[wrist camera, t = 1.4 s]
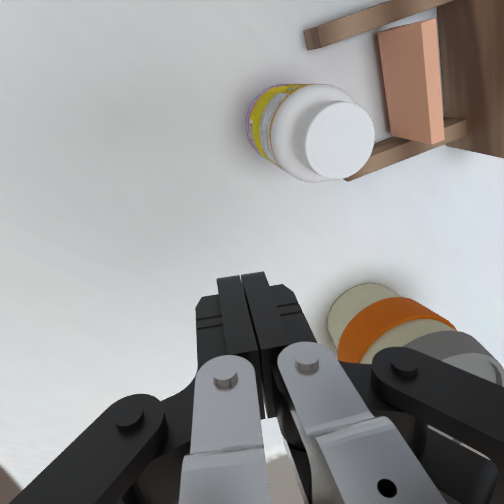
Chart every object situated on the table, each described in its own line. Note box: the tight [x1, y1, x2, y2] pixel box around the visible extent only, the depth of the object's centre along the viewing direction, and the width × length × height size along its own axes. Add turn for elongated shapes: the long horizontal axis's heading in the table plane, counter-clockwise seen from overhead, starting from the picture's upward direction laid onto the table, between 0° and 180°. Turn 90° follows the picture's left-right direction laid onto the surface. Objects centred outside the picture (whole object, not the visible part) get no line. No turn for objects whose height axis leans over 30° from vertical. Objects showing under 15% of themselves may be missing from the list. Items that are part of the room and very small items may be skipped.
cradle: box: [304, 0, 504, 182], centre depth 31 cm, size 16×16×12 cm
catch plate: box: [378, 18, 445, 145], centre depth 32 cm, size 1×9×6 cm, turn 18°
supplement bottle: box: [247, 84, 375, 183], centre depth 29 cm, size 7×7×13 cm
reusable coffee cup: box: [327, 283, 504, 445], centre depth 40 cm, size 13×13×15 cm
